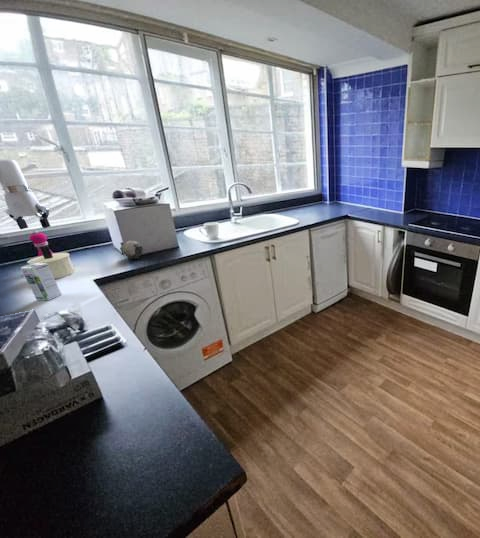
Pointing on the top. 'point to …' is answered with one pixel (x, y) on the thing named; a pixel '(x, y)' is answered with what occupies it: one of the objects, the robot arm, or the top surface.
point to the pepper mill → (39, 241)
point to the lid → (47, 256)
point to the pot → (61, 268)
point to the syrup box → (41, 281)
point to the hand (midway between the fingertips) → (35, 227)
